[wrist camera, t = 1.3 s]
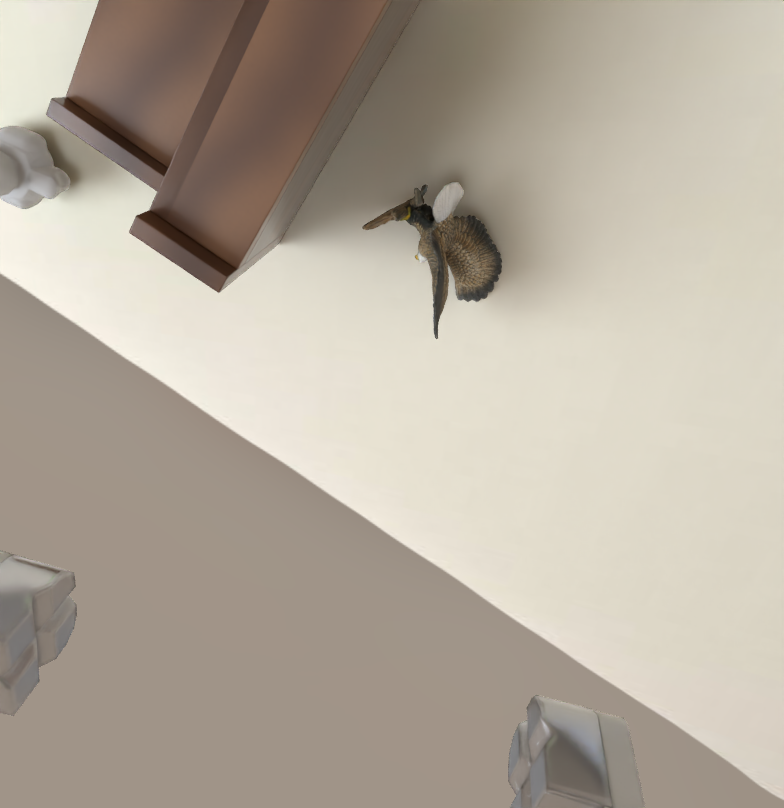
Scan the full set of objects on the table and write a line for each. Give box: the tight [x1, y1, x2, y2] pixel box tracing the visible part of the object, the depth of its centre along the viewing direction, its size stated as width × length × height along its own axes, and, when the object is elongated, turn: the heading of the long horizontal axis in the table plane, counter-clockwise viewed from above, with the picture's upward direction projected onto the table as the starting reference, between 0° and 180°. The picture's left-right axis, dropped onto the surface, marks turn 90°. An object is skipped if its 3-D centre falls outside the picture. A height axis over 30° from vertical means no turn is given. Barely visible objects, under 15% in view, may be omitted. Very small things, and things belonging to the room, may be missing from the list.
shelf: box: [46, 0, 421, 292], centre depth 36 cm, size 16×20×12 cm
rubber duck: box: [0, 126, 70, 209], centre depth 44 cm, size 5×7×8 cm
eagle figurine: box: [362, 182, 502, 339], centre depth 43 cm, size 8×7×9 cm
